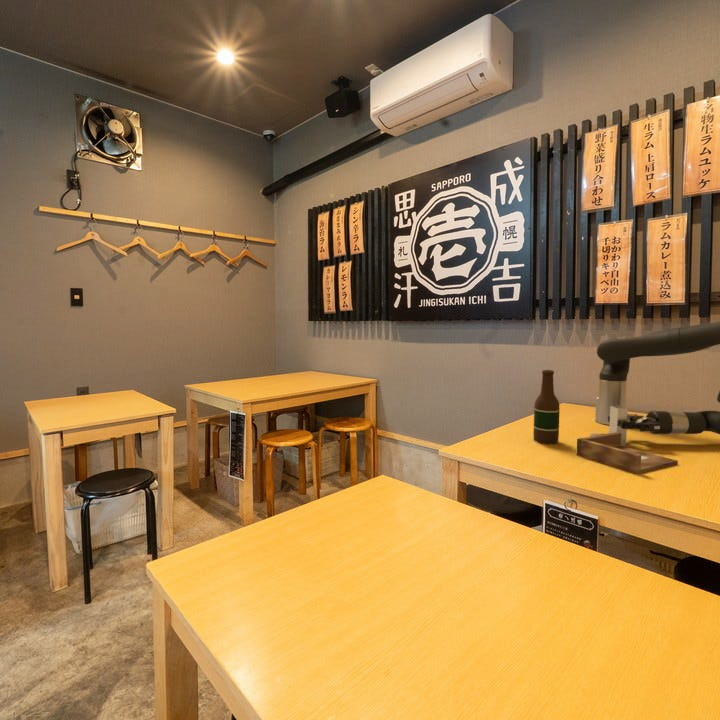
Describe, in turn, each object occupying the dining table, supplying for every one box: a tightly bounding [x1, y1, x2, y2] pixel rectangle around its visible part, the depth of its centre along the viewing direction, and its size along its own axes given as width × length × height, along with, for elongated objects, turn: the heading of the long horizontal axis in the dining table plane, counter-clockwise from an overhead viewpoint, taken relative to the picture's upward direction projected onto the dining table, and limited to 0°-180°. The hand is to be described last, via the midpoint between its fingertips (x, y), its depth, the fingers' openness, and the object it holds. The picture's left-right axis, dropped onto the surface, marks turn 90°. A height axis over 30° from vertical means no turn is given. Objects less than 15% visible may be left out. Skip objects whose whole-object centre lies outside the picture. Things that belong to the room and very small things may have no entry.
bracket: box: [589, 406, 629, 446], centre depth 141 cm, size 9×5×12 cm, turn 85°
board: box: [576, 445, 679, 475], centre depth 124 cm, size 18×18×1 cm
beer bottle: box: [533, 369, 561, 445], centre depth 143 cm, size 8×8×24 cm
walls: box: [576, 432, 641, 470], centre depth 124 cm, size 18×18×4 cm
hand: (614, 422), depth 140 cm, fingers open, 8 cm apart
